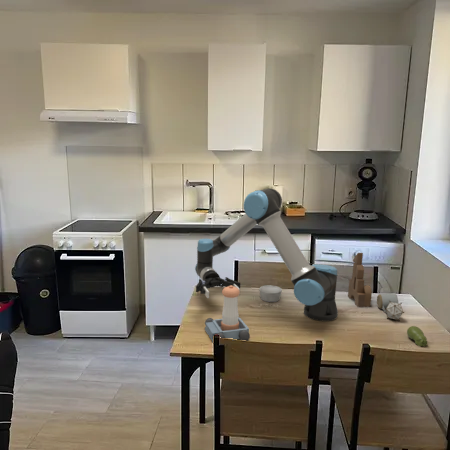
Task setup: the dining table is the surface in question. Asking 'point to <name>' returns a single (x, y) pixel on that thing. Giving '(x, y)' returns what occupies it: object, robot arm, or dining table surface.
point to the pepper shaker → (230, 309)
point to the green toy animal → (417, 335)
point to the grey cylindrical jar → (386, 300)
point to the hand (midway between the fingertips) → (223, 293)
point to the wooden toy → (359, 284)
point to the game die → (394, 310)
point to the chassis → (215, 328)
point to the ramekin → (270, 293)
